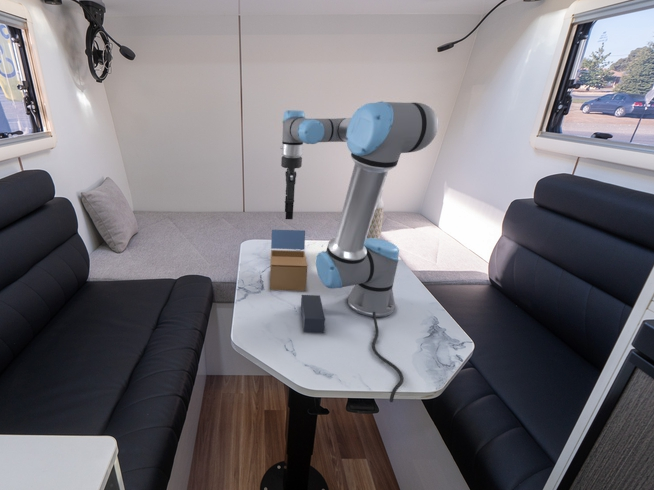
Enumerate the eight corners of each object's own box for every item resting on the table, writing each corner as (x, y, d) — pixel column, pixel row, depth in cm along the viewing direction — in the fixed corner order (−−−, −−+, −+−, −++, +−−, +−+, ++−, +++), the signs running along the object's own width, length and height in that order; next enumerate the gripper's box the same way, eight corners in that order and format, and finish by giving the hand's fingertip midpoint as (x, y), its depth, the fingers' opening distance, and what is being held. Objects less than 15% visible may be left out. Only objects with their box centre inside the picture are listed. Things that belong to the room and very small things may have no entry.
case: (323, 332, 112) (325, 318, 110) (303, 332, 112) (304, 318, 110) (318, 308, 125) (319, 295, 123) (300, 307, 125) (301, 294, 123)
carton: (270, 271, 149) (271, 248, 145) (302, 272, 149) (304, 249, 144) (269, 289, 136) (270, 264, 131) (305, 291, 135) (307, 265, 131)
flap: (271, 248, 145) (271, 248, 145) (304, 249, 144) (304, 249, 145) (271, 229, 144) (271, 229, 144) (305, 230, 144) (305, 230, 144)
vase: (356, 266, 155) (367, 194, 142) (338, 254, 166) (347, 185, 153) (383, 262, 160) (396, 191, 146) (364, 250, 171) (374, 183, 158)
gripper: (281, 151, 146) (278, 207, 156) (282, 160, 127) (279, 223, 137) (300, 151, 146) (296, 207, 156) (304, 161, 127) (299, 224, 137)
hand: (288, 215), depth 146 cm, fingers open, 9 cm apart
